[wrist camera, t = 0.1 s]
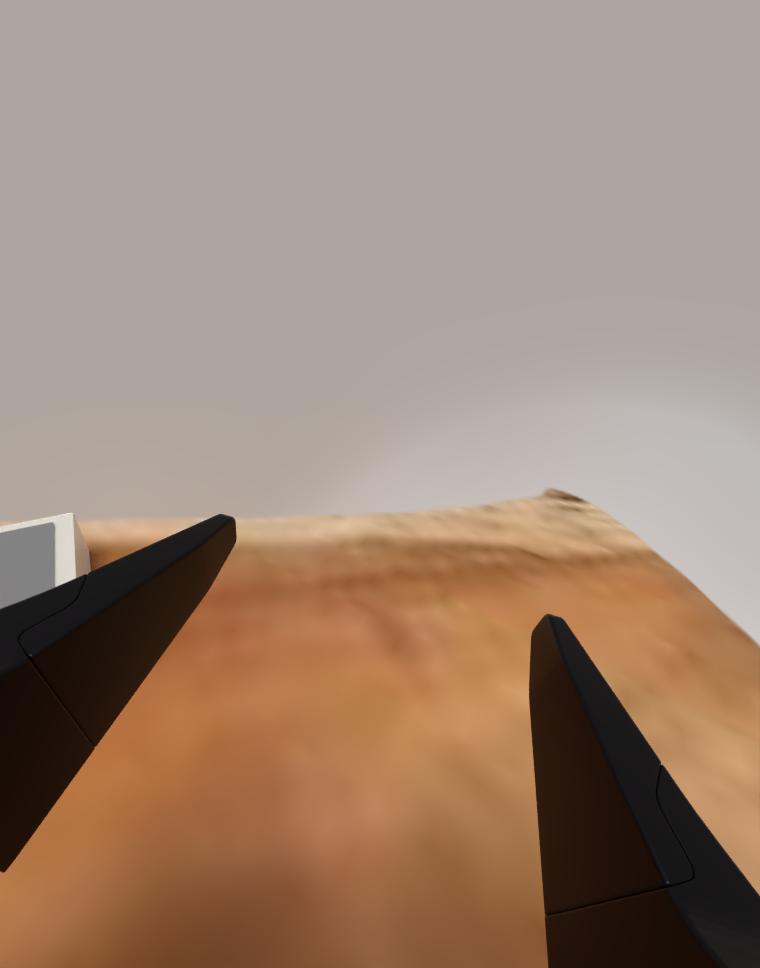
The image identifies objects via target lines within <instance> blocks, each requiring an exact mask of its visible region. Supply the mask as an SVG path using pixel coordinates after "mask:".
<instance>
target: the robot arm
mask: <svg viewBox="0 0 760 968" xmlns="http://www.w3.org/2000/svg"><path fill="white" fill-rule="evenodd" d="M235 543H236V523H235V519H234V518H233V517H231V516H227V515H224V514H219V515H216V516H214V517H212V518H209V519H207V520H205V521H203V522H200V523H198V524H196V525H194V526H191V527H189V528H187V529H185V530H183V531H180V532H178V533H176V534H174V535H171V536H169V537H167V538H165V539H162V540H160V541H158V542H156V543H153V544H151V545H149V546H147V547H145V548H142V549H140V550H138V551H136V552H133V553H131V554H129V555H127V556H124V557H122V558H120V559H118V560H115V561H113V562H111V563H109V564H107V565H104V566H102V567H100V568H98V569H95V570H93V571H91V572H89V573H88V575H87V574H84V575H82V576H79V577H77V578H75V579H73V580H71V581H68V582H66V583H64V584H61V585H59V586H57V587H54V588H52V589H50V590H47V591H45V592H42V593H40V594H37V595H35V596H32V597H30V598H27V599H24V600H22V601H19V602H17V603H14V604H12V605H9V606H6V607H4V608H1V609H0V872H3V873H4V872H5V871H6V870H7V869H8V868H9V866H10V865H11V864H12V863H13V861H14V860H15V859H16V857H17V856H18V854H19V853H20V852H21V850H22V849H23V847H24V846H25V845H26V843H27V842H28V841H29V839H30V838H31V836H32V835H33V834H34V832H35V831H36V829H37V828H38V827H39V825H40V824H41V823H42V821H43V820H44V818H45V817H46V816H47V814H48V813H49V811H50V810H51V809H52V807H53V806H54V805H55V803H56V802H57V800H58V799H59V798H60V796H61V795H62V793H63V792H64V791H65V789H66V788H67V787H68V785H69V784H70V782H71V781H72V780H73V778H74V777H75V775H76V774H77V773H78V771H79V770H80V768H81V767H82V766H83V764H84V763H85V762H86V760H87V759H88V757H89V756H90V755H91V753H92V752H93V750H94V749H95V747H96V746H97V745H98V743H99V742H100V740H101V739H102V738H103V736H104V735H105V733H106V732H107V731H108V729H109V728H110V727H111V725H112V724H113V722H114V721H115V720H116V718H117V717H118V715H119V714H120V713H121V711H122V710H123V709H124V707H125V706H126V704H127V703H128V702H129V700H130V699H131V697H132V696H133V695H134V693H135V692H136V691H137V689H138V688H139V686H140V685H141V684H142V682H143V681H144V679H145V678H146V677H147V675H148V674H149V672H150V671H151V670H152V668H153V667H154V666H155V664H156V663H157V661H158V660H159V659H160V657H161V656H162V654H163V653H164V652H165V650H166V649H167V648H168V646H169V645H170V643H171V642H172V641H173V639H174V638H175V636H176V635H177V634H178V632H179V631H180V630H181V628H182V627H183V625H184V624H185V623H186V621H187V620H188V618H189V617H190V616H191V614H192V613H193V612H194V610H195V609H196V607H197V606H198V605H199V603H200V602H201V600H202V599H203V598H204V596H205V595H206V593H207V592H208V590H209V589H210V587H211V585H212V584H213V582H214V580H215V579H216V577H217V575H218V573H219V572H220V570H221V568H222V566H223V564H224V563H225V561H226V559H227V557H228V556H229V554H230V552H231V550H232V549H233V547H234V545H235ZM529 702H530V716H531V730H532V744H533V758H534V772H535V785H536V799H537V813H538V827H539V840H540V854H541V868H542V882H543V896H544V909H545V915H546V916H545V926H546V940H547V954H548V968H760V896H759V894H758V893H757V892H756V890H755V889H754V888H753V886H752V885H751V884H750V883H749V881H748V880H747V879H746V877H745V876H744V875H743V873H742V872H741V871H740V870H739V868H738V867H737V866H736V864H735V863H734V862H733V860H732V859H731V858H730V857H729V855H728V854H727V853H726V851H725V850H724V849H723V847H722V846H721V845H720V843H719V842H718V841H717V839H716V838H715V837H714V835H713V834H712V833H711V831H710V830H709V829H708V827H707V826H706V825H705V823H704V822H703V821H702V819H701V818H700V817H699V815H698V814H697V813H696V811H695V810H694V808H693V807H692V806H691V804H690V803H689V801H688V800H687V798H686V797H685V796H684V794H683V793H682V791H681V790H680V789H679V787H678V786H677V784H676V783H675V781H674V780H673V778H672V777H671V775H670V774H669V773H668V771H667V770H666V768H665V767H664V766H663V765H661V761H660V760H659V758H658V757H657V755H656V754H655V752H654V751H653V749H652V748H651V746H650V745H649V743H648V742H647V741H646V739H645V738H644V736H643V735H642V733H641V732H640V730H639V729H638V727H637V726H636V724H635V723H634V721H633V720H632V719H631V717H630V716H629V714H628V713H627V711H626V710H625V708H624V707H623V705H622V704H621V702H620V701H619V700H618V698H617V697H616V695H615V694H614V692H613V691H612V689H611V688H610V686H609V685H608V683H607V682H606V680H605V679H604V678H603V676H602V675H601V673H600V672H599V670H598V669H597V667H596V666H595V664H594V663H593V661H592V660H591V659H590V657H589V656H588V654H587V653H586V651H585V650H584V648H583V647H582V645H581V644H580V642H579V641H578V639H577V638H576V637H575V635H574V634H573V632H572V631H571V629H570V628H569V626H568V625H567V623H566V622H565V621H564V620H563V619H562V618H561V617H558V616H554V615H551V614H546V615H545V616H544V617H543V618H542V619H541V621H540V622H539V623H538V625H537V626H536V627H535V629H534V630H533V632H532V636H531V653H530V678H529Z"/></svg>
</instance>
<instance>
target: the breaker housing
mask: <svg viewBox="0 0 760 968" xmlns="http://www.w3.org/2000/svg"><path fill="white" fill-rule="evenodd" d="M89 572H91V567H90V554H89V549H88V547H87V545H86V542H85V540H84V537H83V535H82V533H81V530H80V528H79V526H78V523H77V521H76V518H75V516H74V514H73V512H72V513H67V514H61V515H56V516H51V517H46V518H41V519H36V520H31V521H26V522H21V523H16V524H11V525H6V526H1V527H0V609H1V608H4V607H6V606H9V605H12V604H14V603H17V602H19V601H22V600H24V599H27V598H30V597H32V596H35V595H37V594H40V593H42V592H45V591H47V590H50V589H52V588H54V587H57V586H59V585H61V584H64V583H66V582H68V581H71V580H73V579H75V578H77V577H79V576H82V575H84V574H87V575H88V573H89Z"/></svg>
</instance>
